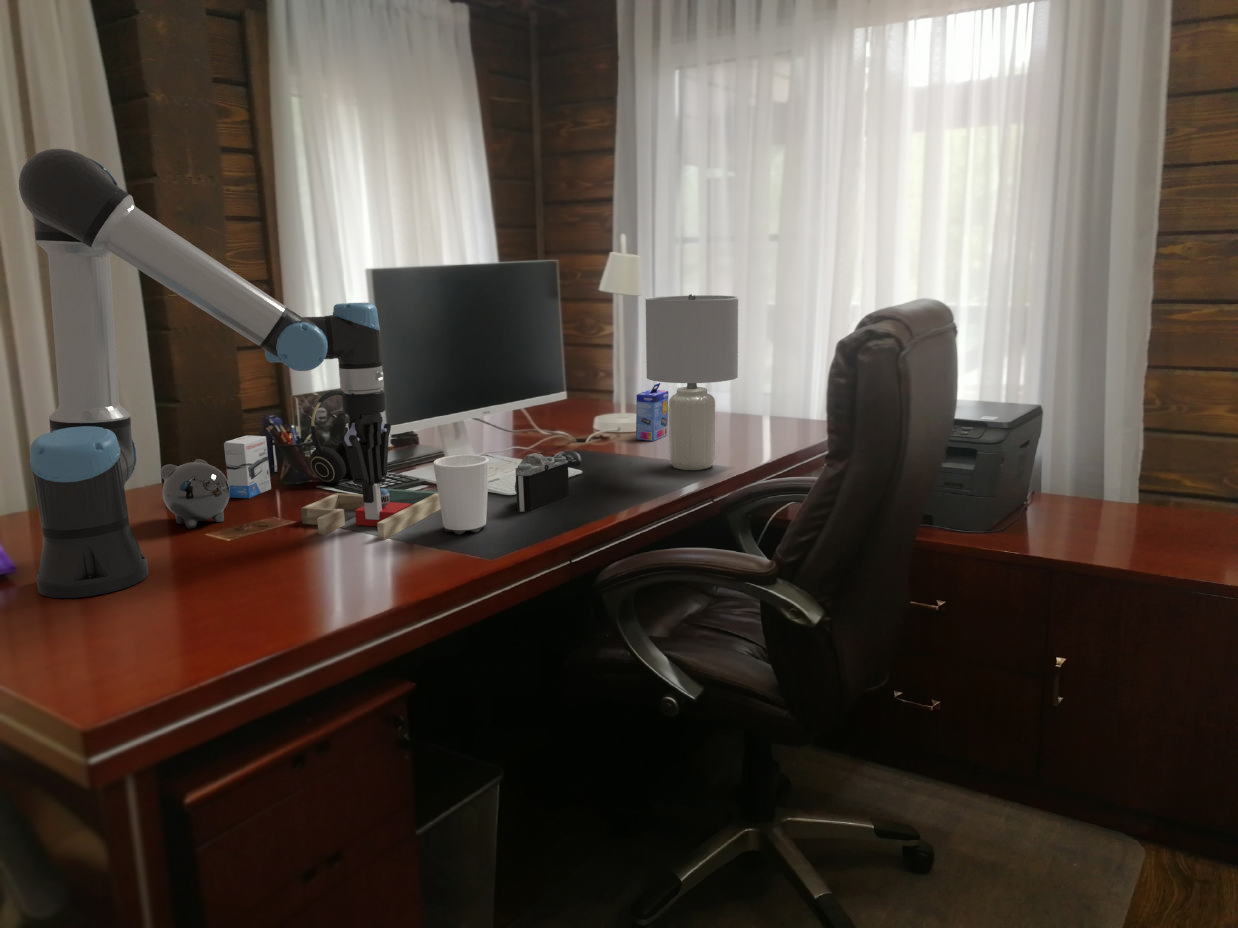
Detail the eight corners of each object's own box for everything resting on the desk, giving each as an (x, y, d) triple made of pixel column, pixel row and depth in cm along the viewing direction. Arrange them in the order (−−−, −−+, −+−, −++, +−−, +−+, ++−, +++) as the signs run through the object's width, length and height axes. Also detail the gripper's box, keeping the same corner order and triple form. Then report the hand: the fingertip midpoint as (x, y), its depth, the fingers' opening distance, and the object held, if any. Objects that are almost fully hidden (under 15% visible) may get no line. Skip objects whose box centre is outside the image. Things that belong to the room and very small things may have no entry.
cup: (432, 525, 174) (428, 457, 171) (485, 518, 177) (482, 452, 174) (442, 539, 165) (438, 468, 162) (498, 533, 168) (494, 463, 165)
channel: (384, 539, 165) (383, 523, 165) (284, 531, 172) (282, 515, 171) (444, 507, 186) (443, 492, 185) (353, 500, 192) (352, 486, 191)
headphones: (302, 486, 206) (293, 394, 201) (348, 471, 219) (340, 385, 214) (332, 489, 202) (324, 396, 198) (377, 474, 215) (370, 387, 211)
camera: (546, 492, 196) (544, 445, 194) (573, 496, 192) (571, 448, 190) (500, 509, 184) (498, 459, 182) (528, 513, 180) (526, 462, 178)
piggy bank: (210, 509, 188) (203, 452, 185) (246, 522, 178) (240, 463, 175) (152, 521, 180) (144, 463, 177) (187, 536, 170) (179, 474, 167)
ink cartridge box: (654, 441, 245) (654, 386, 242) (635, 440, 247) (634, 385, 244) (669, 435, 254) (669, 381, 251) (650, 433, 256) (649, 380, 253)
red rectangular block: (413, 517, 179) (410, 485, 177) (394, 527, 172) (392, 493, 171) (375, 515, 181) (373, 483, 180) (356, 524, 175) (353, 491, 173)
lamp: (753, 471, 211) (755, 294, 202) (670, 480, 204) (668, 297, 195) (711, 453, 229) (711, 291, 221) (634, 462, 222) (631, 294, 213)
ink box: (249, 499, 195) (243, 443, 193) (228, 498, 196) (221, 442, 194) (272, 489, 203) (266, 435, 201) (251, 488, 204) (245, 434, 202)
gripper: (360, 396, 161) (372, 529, 166) (400, 386, 173) (410, 510, 178) (323, 395, 163) (335, 526, 169) (364, 385, 175) (375, 508, 181)
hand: (374, 518), depth 173 cm, fingers closed
